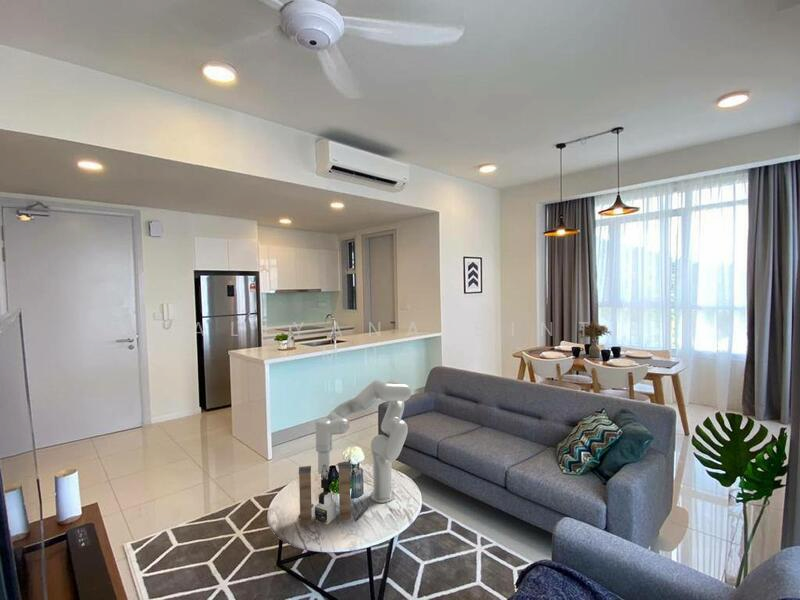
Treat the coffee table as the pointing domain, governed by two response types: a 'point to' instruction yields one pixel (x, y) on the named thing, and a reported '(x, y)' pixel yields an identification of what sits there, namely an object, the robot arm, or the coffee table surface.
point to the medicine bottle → (325, 508)
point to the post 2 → (344, 490)
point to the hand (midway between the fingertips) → (324, 482)
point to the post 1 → (305, 495)
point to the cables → (357, 516)
